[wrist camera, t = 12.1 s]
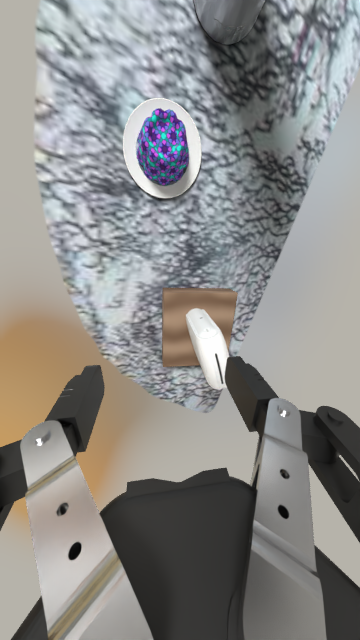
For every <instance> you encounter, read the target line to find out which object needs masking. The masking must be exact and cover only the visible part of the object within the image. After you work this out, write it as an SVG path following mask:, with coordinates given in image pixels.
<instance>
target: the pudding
mask: <svg viewBox="0 0 360 640" xmlns="http://www.w3.org/2000/svg"><path fill="white" fill-rule="evenodd" d="M139 132H140V133H139ZM138 134H139V136H138ZM137 137H138V143H139V147H138V150H137V157H136V141H137ZM187 142H188V144H187ZM188 146H189V153H188ZM123 152H124V158H125V161H126V165H127V168H128V170H129V172H130V174H131V176H132V177H133V179H134V180H135V182H136V183H137V184H138V185H139V186H140V187H141V188H142V189H143V190H144V191H145V192H147V193H149V194H150V195H152V196H155V197H158V198H173V197H176V196H178V195H180V194H182V193H184V192H185V191H186V190H187V189H188V188H189V187H190V186H191V185H192V183H193V182H194V180H195V179H196V176H197V174H198V172H199V168H200V164H201V156H202V153H201V142H200V137H199V133H198V130H197V128H196V126H195V123H194V121H193V120H192V118H191V117H190V115H189V114H188V113H187V112H186V111H185V110H184V109H183V108H182V107H181V106H180V105H178V104H177V103H175V102H173V101H171V100H168V99H164V98H154V99H150V100H147V101H145V102H143V103H141V104H140V105H139V106H138V107H137V108H136V109H135V110H134V111H133V112H132V114H131V115H130V117H129V119H128V121H127V123H126V127H125V130H124V137H123ZM137 159H138V161H139V164H141V165H142V166H143V167H144V173H145V175H146V176H147V177H146V176H145V175H144V174H143V172H142V170H141V169H140V166H139V164H138V161H137ZM188 162H189V163H188ZM187 165H188V167H187ZM185 167H187V169H186V172H185V173H184V175H183V169H184V168H185ZM182 176H183V177H182ZM181 177H182V178H181ZM148 178H149V179H150V180H157V181H158V183H159V184H160V185H158V184H155V183H153V182H152V181H150V180H149V179H148ZM178 180H179V181H178ZM171 181H177V182H176V183H174V184H172V185H169V186H165V185H168V184H169V183H170V182H171ZM162 185H164V186H162Z"/></svg>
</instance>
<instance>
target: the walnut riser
mask: <svg viewBox="0 0 360 640" xmlns="http://www.w3.org/2000/svg"><path fill="white" fill-rule="evenodd" d="M237 294H238V293H237V292H235V291H233V290H231V289H221V288H163V300H162V361H163V367H172V366H192V365H200V363H199V361H198V358H197V356H196V353H195V350H194V347H193V344H192V341H191V338H190V334H189V330H188V326H187V322H186V314H188V312H189V311H190V310H192V309H195V308H199V309H201V310H202V309H204V310H205V311H206V313H207V314H208V315H209V316H210V318H211V319H212V320H213V321H214V323H215V324H216V325H217V326H218V327H219V329H220V330H221V332H222V334H223V337H224V339H225V342H226V346H227V349H228V350H229V343H230V337H231V331H232V325H233V319H234V313H235V307H236V301H237Z"/></svg>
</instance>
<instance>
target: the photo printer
mask: <svg viewBox="0 0 360 640" xmlns="http://www.w3.org/2000/svg"><path fill="white" fill-rule="evenodd" d="M186 322H187V326H188V330H189V334H190V338H191V341H192V344H193V347H194V350H195V353H196V356H197V358H198V361H199V363H200V365H201V368H202V370H203V373H204V375H205V378H206V380H207V382H208V384H209V385H210V386H211V387H212V388H214V389H217V390H221V389H222V388H227V386H226V383H225V369H226V362H227V358H228V357H229V354H228V349H227V346H226V342H225V339H224V337H223V334H222V332H221V330H220V329H219V327H218V326H217V325H216V324H215V323H214V321H213V320H212V319H211V318H210V316H209V315H208V314H207V313H206V311H205V310H204V309H202V310H201V309H199V308H195V309H192V310H190V311H189V312H188V314H186Z"/></svg>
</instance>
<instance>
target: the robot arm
mask: <svg viewBox="0 0 360 640" xmlns="http://www.w3.org/2000/svg"><path fill="white" fill-rule="evenodd" d="M264 2H265V0H194V4H195V9H196V12H197V15H198V18H199V21H200V23H201V24H202V26H203V28H204V30H205V31H206V32H207V33H208V35H209V36H210V37H211V38H213V39H214V40H215V41H217V42H219V43H222V44H234V43H237V42H239V41H240V40H242V39H243V38H244V37H245V36H246V35H247V34H248V33H249V32H250V30H251V29H252V27H253V25H254V24H255V21H256V19H257V17H258V15H259V13H260V11H261V8H262V6H263V4H264ZM225 383H226V386H227V388H228V390H229V392H230V394H231V396H232V398H233V400H234V402H235V404H236V406H237V408H238V410H239V412H240V414H241V416H242V418H243V420H244V422H245V424H246V426H247V428H248V430H249V432H253V431H257V432H258V434H259V439H258V445H257V450H256V456H255V462H254V468H253V473H252V478H251V482H250V485H249V484H247V483H245V482H244V481H242V480H239V479H237V478H234V477H230V476H229V474H228V471H227V468H221V469H213V470H208V471H202V472H200V473H198V474H196V475H194V476H193V477H190V478H188V479H186V480H184V481H182V482H171V481H165V480H159V479H154V478H153V479H145V480H139V481H132V482H127V491H126V492H125V493H123V494H121V495H119V496H118V497H116V498H115V499H114V500H112V501H111V502H110V503H109V504H108V505H107V506H106V507H105V508H104V509H103V510H102V511H101V512H100V513H99V511H98V509H97V506H96V504H95V502H94V500H93V497H92V495H91V492H90V490H89V488H88V485H87V483H86V481H85V478H84V476H83V474H82V471H81V469H80V467H79V464H78V462H77V460H76V458H75V456H76V454H77V452H84V451H86V448H87V445H88V442H89V439H90V435H91V433H92V429H93V426H94V423H95V420H96V417H97V414H98V411H99V408H100V405H101V402H102V398H103V395H104V382H103V376H102V372H101V367H100V365H93V366H86V367H85V368H84V370H83V372H82V374H81V375H76V376H75V377H73V378H72V379H71V380H70V381H69V382H68V383H67V385H66V387H65V388H64V391H62V393H61V395H60V397H59V398H58V400H57V401H56V403H55V405H54V406H53V408H52V410H51V412H50V413H49V415H48V416H47V418H46V419H45V421H44V422H42V423H40V424H38V425H37V426H35V427H33V428H32V429H31V430H30V431H29V432H27V433H26V435H25V436H24V437H23V439H22V440H19V441H16V442H14V443H11V444H8V445H5V446H3V447H0V530H1V528H2V526H3V524H4V522H5V520H6V518H7V516H8V514H9V512H10V510H11V508H12V505H13V503H14V501H16V500H19V499H21V498H23V497H25V498H26V505H27V511H28V516H29V522H30V529H31V534H32V540H33V546H34V552H35V558H36V564H37V570H38V576H39V582H40V588H41V594H42V596H41V597H40V598H39V600H38V601H37V603H36V604H35V606H34V607H33V609H32V610H31V611H30V613H29V614H28V616H27V617H26V619H25V620H24V621H23V623H22V624H21V626H20V627H19V629H18V630H17V632H16V633H15V634H14V636H13V637H12V639H11V640H360V588H359V587H358V586H357V585H356V584H355V583H354V582H353V581H352V580H351V579H350V578H349V577H348V576H347V575H346V574H345V573H344V572H342V570H341V569H339V568H338V567H337V566H336V565H335V564H334V563H333V562H332V561H330V559H329V558H328V557H327V556H326V555H325V554H324V553H322V552H321V551H320V550H319V549H318V548H317V547H316V546H315V545H314V536H313V522H312V508H311V495H310V482H309V468H308V463H309V465H310V466H311V468H312V469H313V471H314V472H315V474H316V476H317V477H318V479H319V480H320V482H321V483H322V485H323V486H324V488H325V489H326V491H327V492H328V494H329V496H330V497H331V499H332V500H333V502H334V503H335V505H336V506H337V508H338V510H339V511H340V513H341V514H342V515H343V517H344V519H345V521H346V522H347V524H348V525H349V527H350V528H351V530H352V531H353V533H354V534H355V536H356V538H357V539H358V541H359V542H360V482H359V481H360V428H359V427H358V426H357V425H356V424H355V423H354V422H353V421H352V420H351V419H350V418H349V417H348V416H347V415H345V414H344V413H342V412H341V411H339V410H337V409H335V408H332V407H329V406H321V407H319V408H318V409H317V411H316V413H313V412H306V411H301V410H298V409H297V407H296V406H295V405H293V404H292V403H291V402H289V401H287V400H285V399H281V398H279V397H278V396H277V395H276V393H275V392H274V391H273V390H272V388H271V387H270V386H269V385H268V383H267V382H266V381H265V380H264V378H263V377H262V376H261V375H260V373H259V372H258V371H257V370H256V369H255V368H254V367H253V366H251V365H250V364H246V363H245V362H244V361H243V360H242V358H241V357H240V356H236V357H228V358H227V362H226V369H225ZM339 455H341V456H342V457H343V458H344V460H345V461H346V462H347V463H348V464H349V465H350V467H351V468H352V469H353V471H354V472H355V473H356V475H357V476H358V479H359V481H358V480H357V479H356V477H355V476H354V475H353V474H352V472H351V471H350V470H349V468H348V467H347V466H346V465H345V463H344V462H343V461H342V460H341V458H339Z"/></svg>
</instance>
